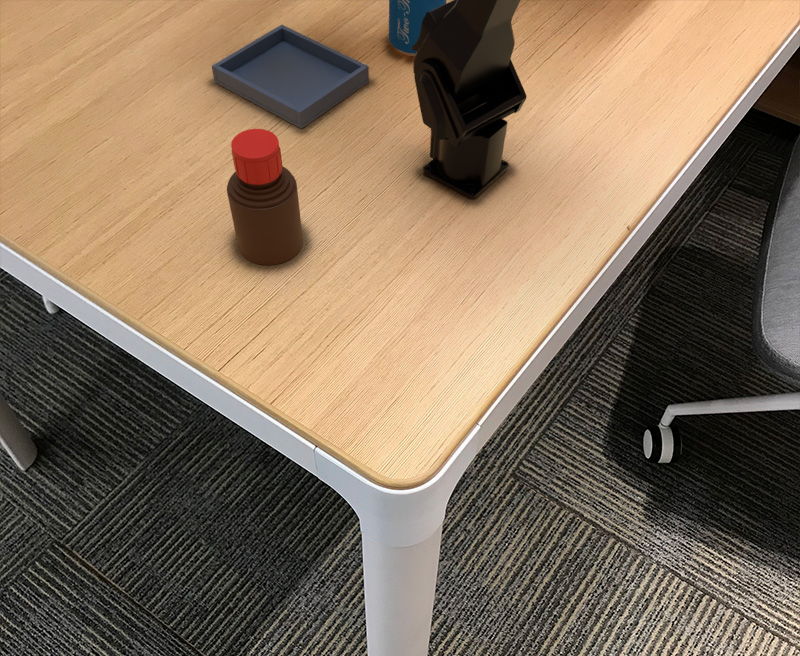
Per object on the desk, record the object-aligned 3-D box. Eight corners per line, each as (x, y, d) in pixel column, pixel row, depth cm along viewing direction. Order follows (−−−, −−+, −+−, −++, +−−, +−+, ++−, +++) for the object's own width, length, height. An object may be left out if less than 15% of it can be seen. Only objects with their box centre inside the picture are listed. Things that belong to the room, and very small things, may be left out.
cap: (291, 168, 65) (288, 141, 63) (259, 191, 63) (255, 164, 61) (258, 149, 66) (254, 122, 64) (226, 171, 64) (221, 144, 62)
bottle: (316, 239, 72) (307, 145, 63) (271, 275, 69) (256, 181, 60) (269, 211, 74) (255, 116, 65) (224, 245, 71) (203, 150, 63)
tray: (369, 82, 86) (368, 65, 85) (301, 129, 81) (299, 112, 80) (283, 40, 91) (281, 24, 89) (214, 82, 86) (211, 65, 84)
